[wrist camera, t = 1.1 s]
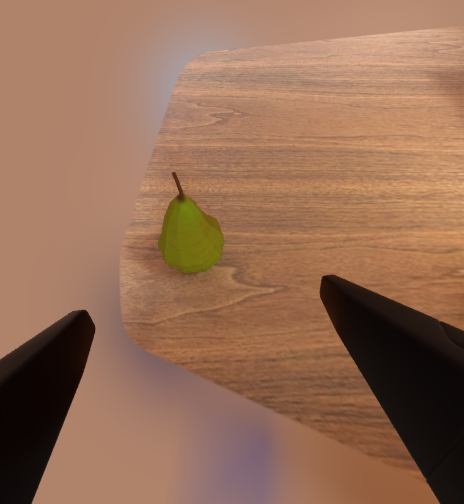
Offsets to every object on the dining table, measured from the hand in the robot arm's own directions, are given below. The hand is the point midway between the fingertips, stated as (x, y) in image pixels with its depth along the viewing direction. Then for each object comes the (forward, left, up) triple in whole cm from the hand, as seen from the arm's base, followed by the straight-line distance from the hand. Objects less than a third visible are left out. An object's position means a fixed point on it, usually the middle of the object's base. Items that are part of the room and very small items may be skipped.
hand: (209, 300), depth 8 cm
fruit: (+7, +5, -15) cm, 17 cm away
